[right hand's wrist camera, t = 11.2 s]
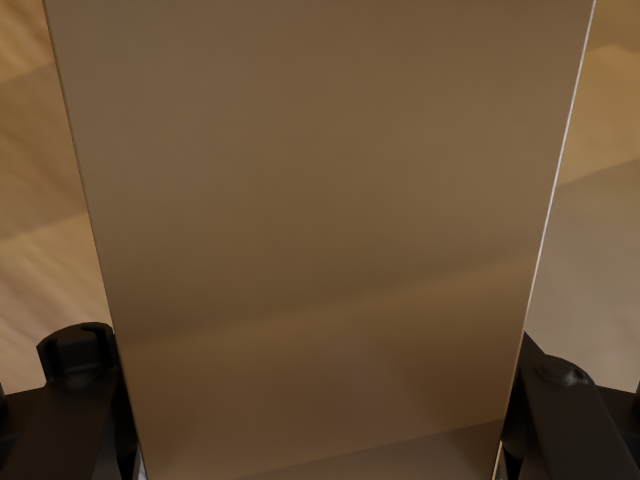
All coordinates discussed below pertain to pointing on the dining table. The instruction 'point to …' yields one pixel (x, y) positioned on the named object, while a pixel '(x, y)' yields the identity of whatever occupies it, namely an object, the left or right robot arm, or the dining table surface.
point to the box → (319, 221)
